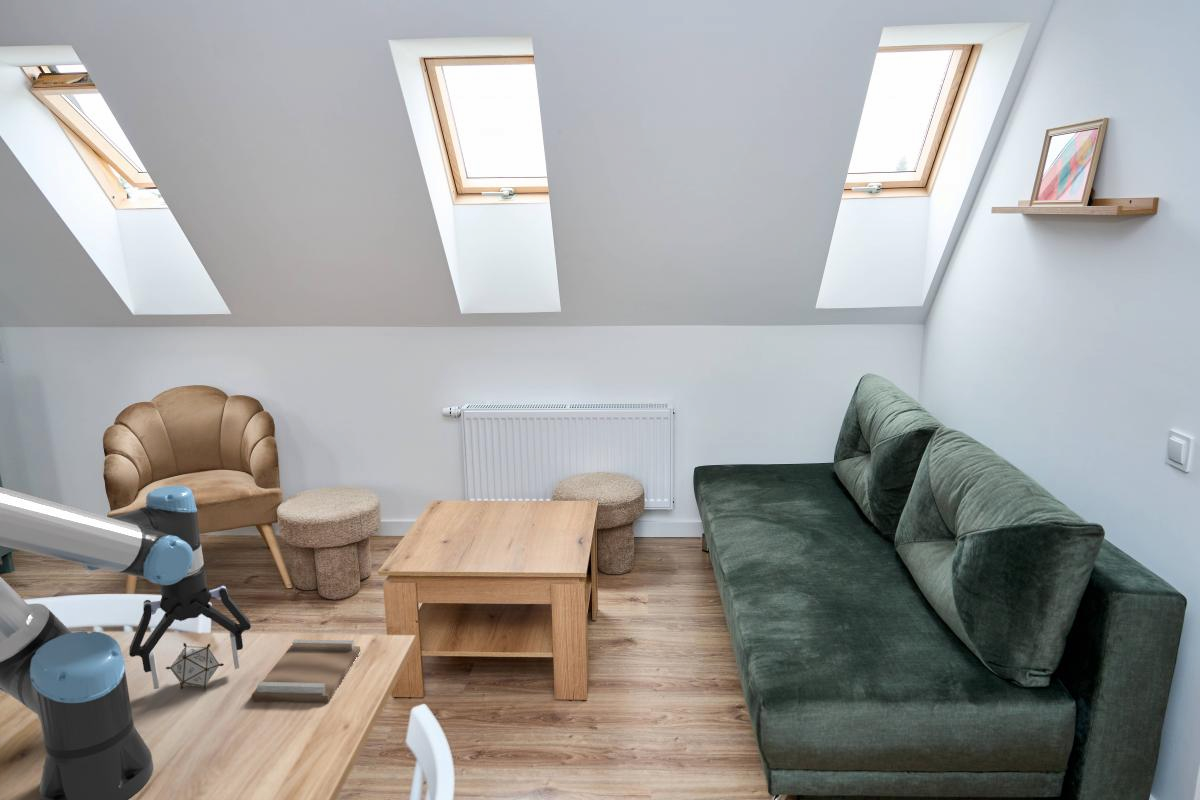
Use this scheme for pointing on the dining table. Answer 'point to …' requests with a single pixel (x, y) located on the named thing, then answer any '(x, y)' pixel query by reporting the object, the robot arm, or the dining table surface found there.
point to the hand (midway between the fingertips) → (197, 675)
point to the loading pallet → (308, 672)
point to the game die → (194, 666)
